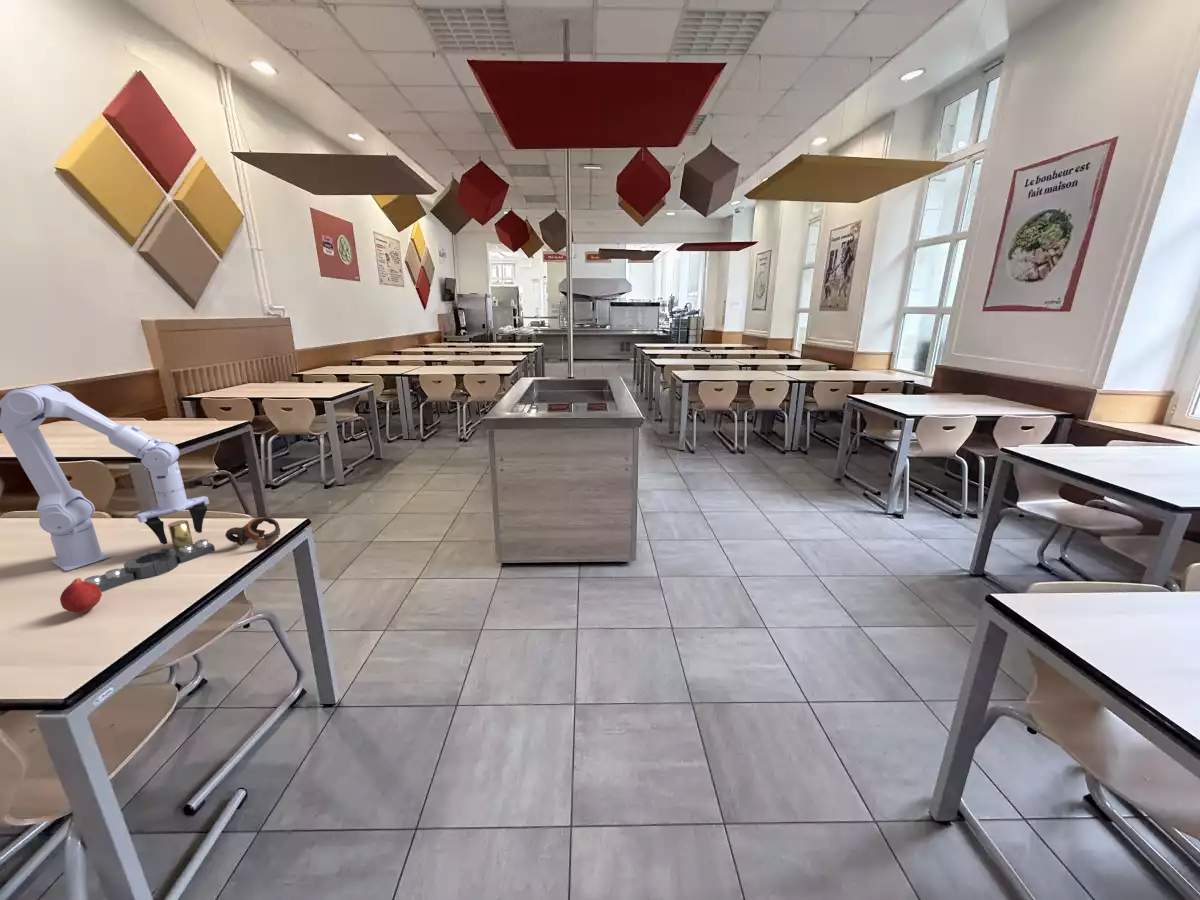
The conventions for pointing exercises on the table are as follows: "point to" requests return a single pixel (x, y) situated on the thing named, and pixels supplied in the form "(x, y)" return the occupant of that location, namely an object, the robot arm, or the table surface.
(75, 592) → the onion
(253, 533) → the rusty ring shackle
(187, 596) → the table surface
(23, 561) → the table surface
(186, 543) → the pin
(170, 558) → the studded flange bracket
